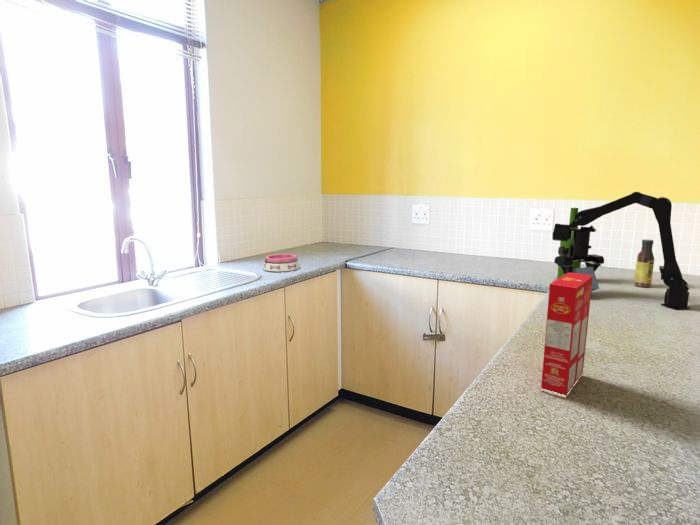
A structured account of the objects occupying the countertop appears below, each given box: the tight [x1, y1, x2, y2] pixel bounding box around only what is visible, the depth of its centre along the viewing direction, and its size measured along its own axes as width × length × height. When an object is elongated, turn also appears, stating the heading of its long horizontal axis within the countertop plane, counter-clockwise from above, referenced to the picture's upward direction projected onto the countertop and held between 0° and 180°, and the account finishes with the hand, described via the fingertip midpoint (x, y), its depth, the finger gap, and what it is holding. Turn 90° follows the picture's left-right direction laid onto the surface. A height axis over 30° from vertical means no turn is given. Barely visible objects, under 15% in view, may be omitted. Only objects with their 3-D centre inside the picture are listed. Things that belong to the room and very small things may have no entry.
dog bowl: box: [262, 253, 301, 274], centre depth 233 cm, size 18×19×7 cm
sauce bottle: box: [633, 238, 655, 288], centre depth 193 cm, size 7×6×20 cm
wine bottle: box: [556, 207, 582, 280], centre depth 202 cm, size 9×9×32 cm
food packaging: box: [540, 272, 593, 395], centre depth 105 cm, size 15×5×25 cm, turn 141°
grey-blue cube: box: [563, 267, 600, 292], centre depth 181 cm, size 8×8×9 cm
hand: (577, 281), depth 182 cm, fingers open, 9 cm apart
